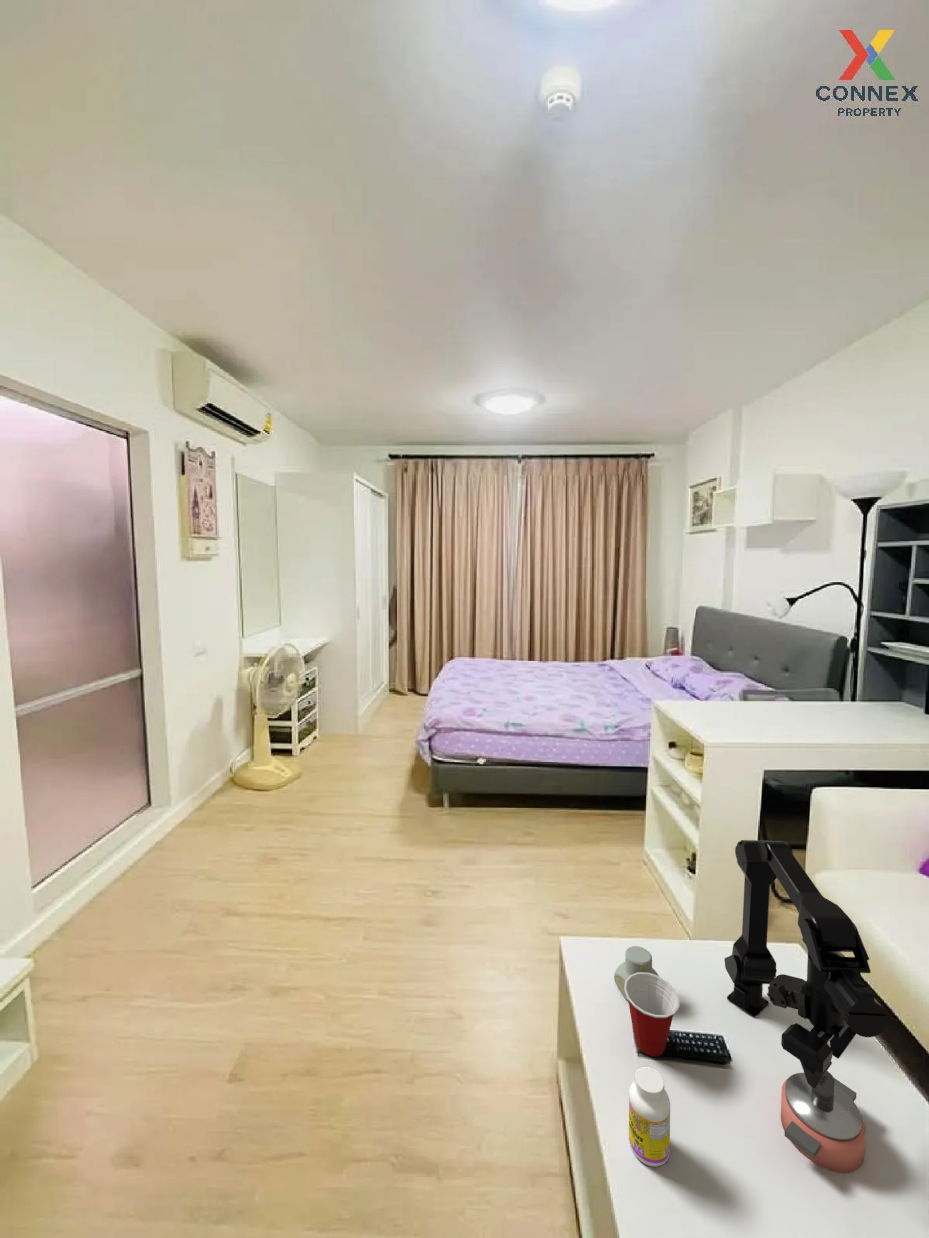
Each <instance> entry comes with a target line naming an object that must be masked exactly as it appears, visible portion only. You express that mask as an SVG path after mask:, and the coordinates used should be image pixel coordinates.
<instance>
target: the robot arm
mask: <svg viewBox="0 0 929 1238" xmlns="http://www.w3.org/2000/svg"><path fill="white" fill-rule="evenodd" d="M734 849H735V850H734V851H735V857H736V863H737V865H738V867H739V868H740V870H741V872H742V873H743V875H744V881H743V882H744V888H743V907H742V926H741V927H742V929H741V935H740V936H739V938H738V939H736V940H735V942H734V943H733V946H732V953H731V955H729V956H727V957H724V968H725V970H726V972H727V974H728V976H729V978H730V979H731V981H732V983H733V991H731V993H729V994H728V995H727V996H726V1000H727V1001H729V1002H730V1003H732V1004H733V1005H735V1006H736V1007H737V1008H739V1009H741V1011H744V1012H745V1013H747V1014H748V1015H750V1016H751V1017H753V1018H757V1017H758V1016H759V1015H760V1014H761V1013H762V1012H763V1011H764V1010H765V1009H766V1008H768V1006H769V1005H770V1003H771V1004H772V1005H773V1006H775V1007H778V1008H782V1009H786V1008H790V1009H793V1010H797V1015H798V1016H799V1017H800V1018H802V1019H804V1020H809V1021H808V1022H809V1023H810V1024H811V1025H812V1026H813V1027H812V1028H811V1029H810V1030H808V1029H807V1028H805V1027H804V1026H802V1025H801V1024H800V1023H798V1022H797V1023H792V1024H790V1025H789V1026H788V1027H787V1028H786V1029H785V1030H784V1032H782V1033H781V1040H780V1041H781V1043H780V1045H781V1046H782V1049H783V1050H784V1051H786V1052H787V1053H788V1054H790V1055H792V1056H793V1057H794V1058H796V1059H797V1060H799V1061H800V1065H801V1068H802V1070H803V1073H804V1074H805V1077H806V1079H807V1082H808V1084H809V1085H810V1086H812V1087H813V1088H816V1086H817V1085H818V1084H819V1082H820V1081H821V1079H822V1078H823V1076H824V1075H825V1073H826V1072H827V1071H828V1070H829V1069H830V1067H831V1066H832V1064H833V1062H832V1059H833V1057H835V1058H836V1059H837V1060H839V1059H840V1058H841V1057H842V1055H843V1054H844V1052H845V1050H846V1049H847V1047H848V1046H849V1045H850V1043H851V1042H852V1041H853V1039H854V1038H855V1036H856V1035H858V1036H860V1037H863V1038H874V1037H877V1036H879V1035H880V1034H882V1033H883V1032H885V1030H886V1028H887V1026H888V1024H889V1017H888V1014H887V1012H886V1010H885V1008H884V1007H883V1006H882V1005H881V1004H880V1003H879V1002H878V1001H879V1000H877V999H876V998H875V997H876V996H875V993H874V992H873V991H872V990H871V989H870V987H869V986H867V985H866V984H865V983H864V982H863V981H862V979H861V974H871V968H870V964H869V960H870V957H869V955H868V953H867V950H866V948H865V944H864V943H863V940H862V938H861V935H860V933H859V930H858V928H857V926H856V924H855V923H854V922H853V921H852V920H853V919H851V918H850V917H849V915H848V914H847V913H845V911H844V910H843V909H842V908H841V907H840V906H839V905H838V904H836V903H834V902H833V901H832V900H829V899H827V898H826V897H825V896H823V894H821V892H820V890H819V889H818V887H817V886H816V884H815V883H814V882H813V881H812V879H811V878H810V876H809V875H808V874H807V872H806V870H804V868H803V867H802V865H801V864H800V862H799V860H797V858H796V857H795V855H794V853H793V848H792V847H791V844H789V842H785V841H782V840H781V841H780V840H779V841H777V840H775V841H774V840H761V839H760V840H759V839H757V840H754V839H750V840H749V839H741V840H740V841H738V842H737V843H736V845H735V848H734ZM776 879H777V880H778V881H779V883H780V885H781V886H782V888H783V889H784V891H785V893H786V895H788V897H789V899H790V901H791V902H792V903H793V905H794V907H795V909H796V910H797V912H798V917H797V926H798V928H799V930H800V933H801V934H800V935H801V936H802V939H801V940H802V942H803V943H804V945H805V947H806V948H807V965H806V966H807V967H806V968H807V969H806V970H807V972H806V974H807V975H806V980H805V979H804V978H800V977H798V976H797V977H796V976H791V975H788V974H785V973H784V974H782V973H781V974H778V975H777V962H776V960H775V958H774V957H773V955H772V953H771V952H770V949H769V947H768V928H769V913H770V912H769V909H770V891H771V890H770V888H771V885H772V884H773V883H774V882H775V881H776ZM840 952H841V953H842V952H843V953H852V954H853V956H842V954H841V953H840ZM763 985H768V986H767V990H768V991H767V993H766V996H767V997H768V998H769V1000H767V999H765V997H763V993H764V992H763V990H764V989H763Z"/></svg>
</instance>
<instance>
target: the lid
mask: <svg viewBox="0 0 929 1238" xmlns="http://www.w3.org/2000/svg"><path fill="white" fill-rule="evenodd" d="M834 1078H835V1077H834V1075H832V1073H831V1072H830V1071H828V1070H827V1072H826V1073H825V1075H824V1076H823V1078H822V1079H821V1081H820V1082H819V1084H818V1085H817V1086H816V1088H813V1087H812V1086H810V1085H809V1084H808V1082H807V1079H806V1077H805V1074H804V1072H798V1073H794V1074H792V1075H790V1076H789V1077H788V1078H787V1079H786V1080H787V1081H786V1080H785V1081H786V1084H785V1097H786V1100H787V1103H788V1105H789V1107H790V1109H791V1110H792V1112H793V1113H794V1114H795V1116H796V1117H797V1118H798V1119H799V1120H800V1121H801V1122H802V1123H803V1124H804V1125H806V1126H807V1127H808V1128H809V1129H811V1130H812V1131H814V1132H815V1133H817V1134H819V1135H821V1136H823V1137H825V1138H828V1139H831V1140H834V1141H840V1142H848V1141H852V1140H855V1139H856V1138H857V1137H858V1136H859V1135H860V1133H861V1129H862V1118H861V1115H862V1113H861V1112H860V1110H859V1108H858V1106H857V1104H856V1102H855V1101H853V1100H852V1099H851V1098H850V1097H849V1095H848V1094H847V1093H846V1092H844V1091H843V1090H842V1089H841V1088H840V1087H838V1086H837V1085H836V1084H835V1080H834ZM860 1113H861V1114H860Z"/></svg>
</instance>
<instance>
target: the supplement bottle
mask: <svg viewBox="0 0 929 1238" xmlns="http://www.w3.org/2000/svg"><path fill="white" fill-rule="evenodd" d="M663 1078H664V1077H663V1076H662V1075H661V1074H660V1072H659V1071H657V1070H656V1069H655V1068H653V1067H648V1066H643V1067H639V1068H638V1069H637V1070H636V1072H635V1074H634V1081H633V1082H632V1084H631V1085H630V1087H629V1091H628V1141H629V1143H628V1144H629V1147H630V1149H631V1151H632V1153H633V1154H634V1156H635V1157H636V1158H637V1159H638V1160H639V1161H640V1162H642V1163H643V1164H645V1165H646V1166H649V1167H653V1168H654V1167H659V1166H662V1165H664V1164H665V1163H666V1162H667V1161H668V1159H669V1157H670V1152H671V1100H670V1096H669V1095H668V1092H667V1090H666V1089H665V1081H664V1079H663Z"/></svg>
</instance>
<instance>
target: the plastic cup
mask: <svg viewBox="0 0 929 1238" xmlns="http://www.w3.org/2000/svg"><path fill="white" fill-rule="evenodd" d="M624 990H625V993H626V996H627V999H628V1000H627V999H626V1000H627V1004H628V1007H629V1014H630V1021H631V1026H632V1029H633V1034H634V1041H635V1044H636V1046H637V1048H638V1049H639V1050H640V1052H642V1053H643V1054H645V1055H646V1056H650V1057H659V1056H661V1055H663V1054H664V1052H665V1050H666V1047H667V1042H668V1038H669V1035H670V1030H671V1026H672V1021H673V1017H674V1015H675V1014H676V1012H677V1011H678V1009H679V1008H680V997H679V995H678V993H677V991H676V989H675V987H673V986H672V984H670V982H669V981H667V980H665V979H664V978H663V977H661V976H660V975H659V976H657V975H654V974H651V973H645V972H638V973H635V974H632V975H630V976H629V977H628V978H627V979H626V981H625V986H624ZM663 1051H664V1052H663Z"/></svg>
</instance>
